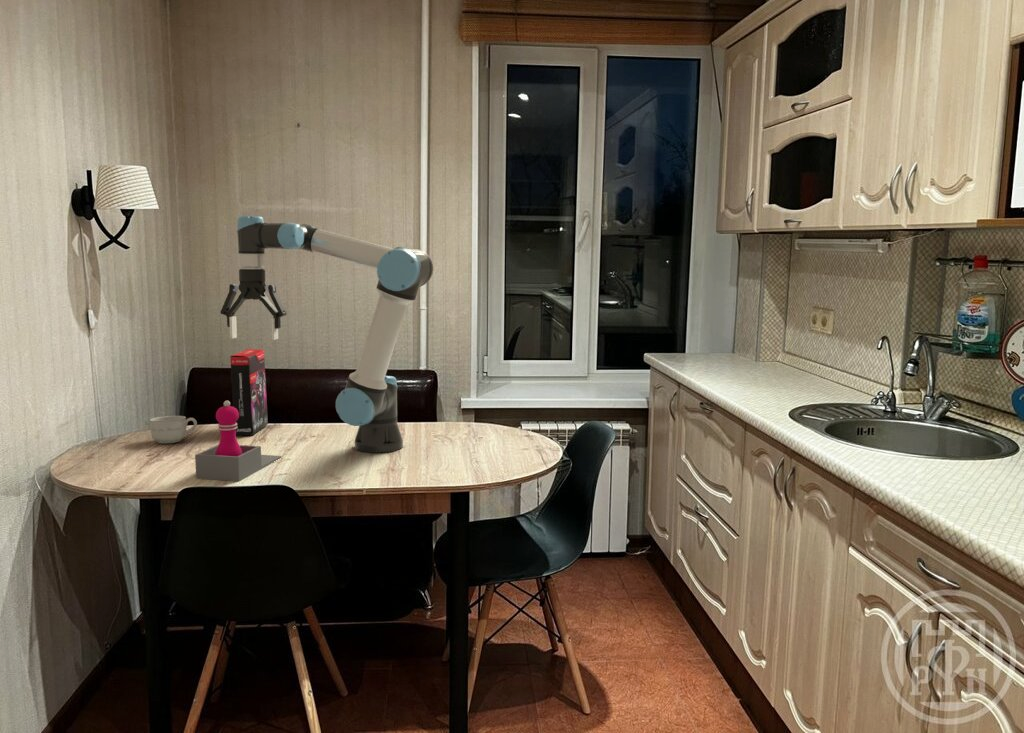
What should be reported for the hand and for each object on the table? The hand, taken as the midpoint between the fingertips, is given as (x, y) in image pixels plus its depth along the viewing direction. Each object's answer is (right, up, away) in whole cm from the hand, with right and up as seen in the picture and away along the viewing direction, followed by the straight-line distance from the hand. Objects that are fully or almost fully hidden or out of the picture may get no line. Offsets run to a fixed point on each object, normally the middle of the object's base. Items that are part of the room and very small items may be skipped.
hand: (254, 338), depth 246 cm
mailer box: (+1, -37, -15) cm, 40 cm away
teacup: (-30, -33, +14) cm, 47 cm away
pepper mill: (0, -38, -21) cm, 43 cm away
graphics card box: (-11, -31, +31) cm, 45 cm away
